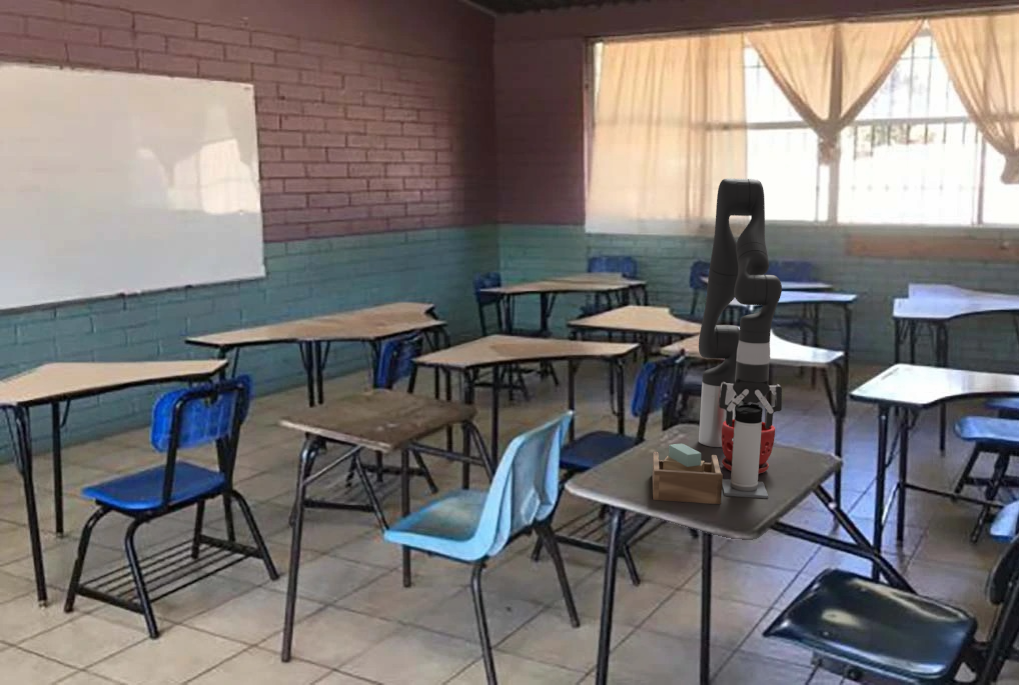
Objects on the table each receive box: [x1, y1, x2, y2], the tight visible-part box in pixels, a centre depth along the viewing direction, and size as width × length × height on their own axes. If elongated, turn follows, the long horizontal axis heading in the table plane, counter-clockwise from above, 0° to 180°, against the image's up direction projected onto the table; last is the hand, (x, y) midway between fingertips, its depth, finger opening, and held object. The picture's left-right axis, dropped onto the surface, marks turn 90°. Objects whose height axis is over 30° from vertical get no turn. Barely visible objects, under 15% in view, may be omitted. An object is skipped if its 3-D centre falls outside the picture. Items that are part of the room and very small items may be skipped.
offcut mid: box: [663, 455, 706, 472], centre depth 234 cm, size 4×9×3 cm, turn 68°
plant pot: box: [721, 418, 776, 475], centre depth 245 cm, size 13×13×12 cm
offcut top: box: [668, 443, 702, 467], centre depth 234 cm, size 4×8×3 cm, turn 22°
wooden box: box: [651, 451, 724, 505], centre depth 230 cm, size 18×15×7 cm
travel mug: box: [730, 402, 764, 491], centre depth 229 cm, size 6×7×20 cm
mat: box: [722, 478, 769, 499], centre depth 231 cm, size 10×10×1 cm
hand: (748, 426), depth 228 cm, fingers open, 8 cm apart
